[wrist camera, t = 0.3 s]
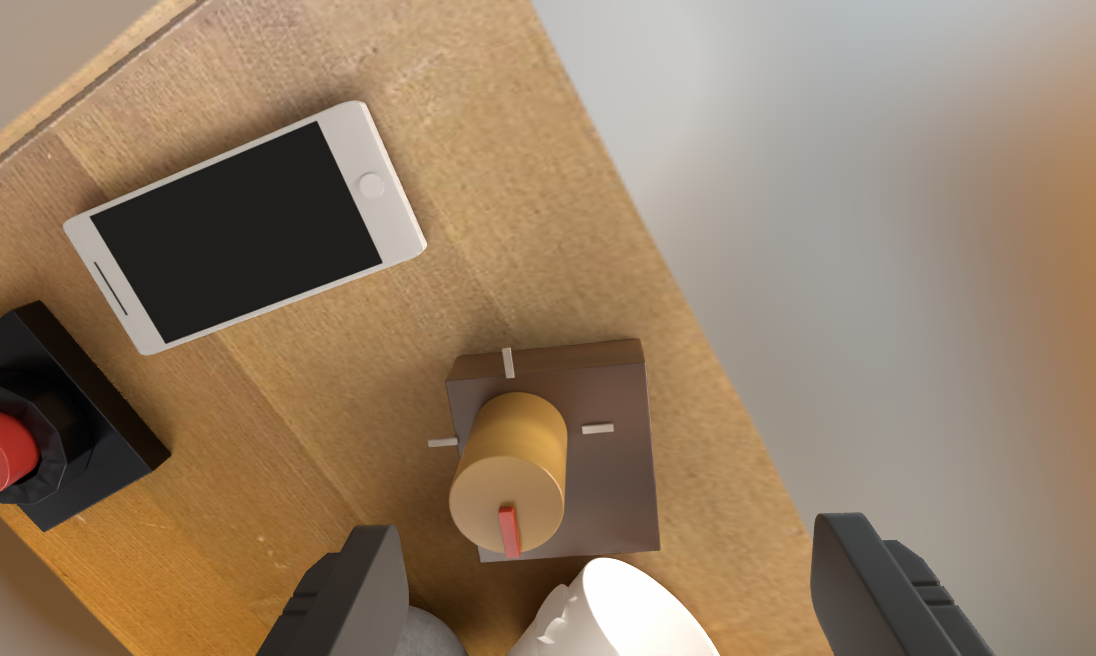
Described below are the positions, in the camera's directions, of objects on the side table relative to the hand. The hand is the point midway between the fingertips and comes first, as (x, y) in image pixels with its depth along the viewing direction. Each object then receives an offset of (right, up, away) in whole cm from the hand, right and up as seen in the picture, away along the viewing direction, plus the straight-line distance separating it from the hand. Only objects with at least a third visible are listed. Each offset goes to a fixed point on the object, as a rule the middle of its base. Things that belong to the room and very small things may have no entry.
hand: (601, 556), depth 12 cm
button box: (-27, 0, +21) cm, 35 cm away
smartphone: (-15, +9, +18) cm, 25 cm away
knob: (-2, -1, +17) cm, 17 cm away
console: (0, -1, +20) cm, 20 cm away
